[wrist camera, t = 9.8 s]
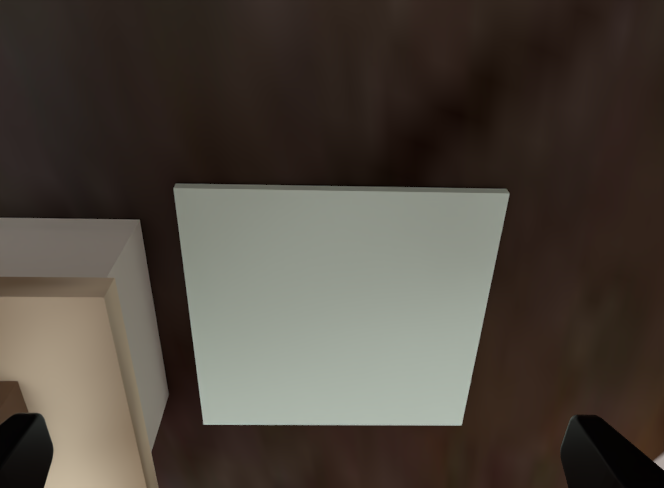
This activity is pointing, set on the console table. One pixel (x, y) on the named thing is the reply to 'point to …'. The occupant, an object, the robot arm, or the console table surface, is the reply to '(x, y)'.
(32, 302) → the lid
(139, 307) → the beige boxy piece
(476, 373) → the console table surface
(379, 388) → the mat
